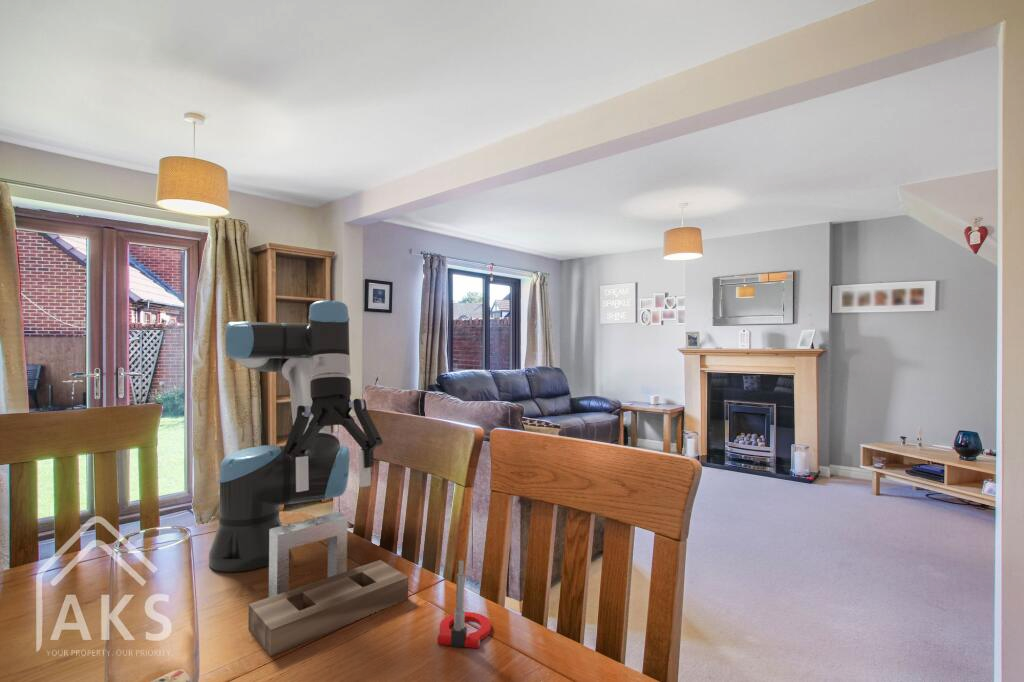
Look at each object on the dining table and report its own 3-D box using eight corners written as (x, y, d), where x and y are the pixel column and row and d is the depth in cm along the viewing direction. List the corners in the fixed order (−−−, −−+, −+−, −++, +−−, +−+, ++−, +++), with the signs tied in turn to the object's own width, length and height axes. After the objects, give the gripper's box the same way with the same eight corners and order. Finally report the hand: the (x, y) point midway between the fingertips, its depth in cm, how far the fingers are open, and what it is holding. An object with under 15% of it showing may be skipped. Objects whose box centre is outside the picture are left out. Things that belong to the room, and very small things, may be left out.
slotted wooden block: (248, 628, 81) (248, 604, 81) (380, 580, 98) (380, 559, 98) (270, 656, 73) (270, 629, 73) (408, 598, 90) (408, 577, 90)
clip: (268, 600, 89) (269, 528, 89) (337, 577, 99) (337, 512, 99) (276, 609, 87) (277, 535, 87) (346, 584, 96) (347, 517, 96)
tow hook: (447, 616, 86) (430, 645, 77) (449, 540, 86) (433, 561, 77) (495, 621, 84) (483, 652, 75) (497, 544, 85) (486, 565, 76)
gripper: (263, 383, 97) (263, 495, 93) (377, 368, 91) (382, 486, 87) (289, 386, 104) (290, 490, 100) (396, 372, 99) (402, 481, 95)
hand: (333, 488), depth 94 cm, fingers open, 13 cm apart
